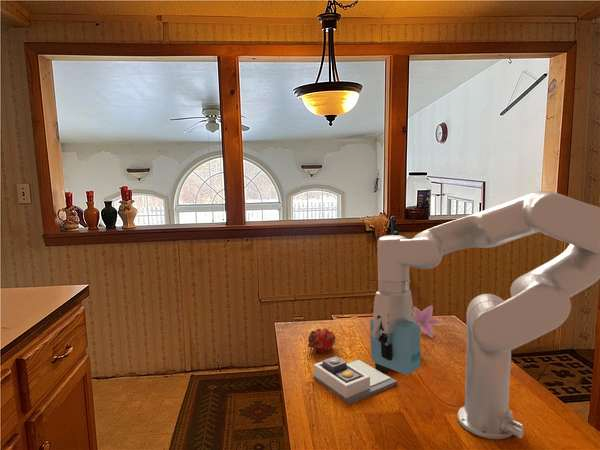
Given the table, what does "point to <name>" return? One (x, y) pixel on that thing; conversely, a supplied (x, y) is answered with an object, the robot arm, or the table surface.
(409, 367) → the data package
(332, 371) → the grey square block
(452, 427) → the table surface
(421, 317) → the lily
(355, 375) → the tagged breaker
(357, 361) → the board
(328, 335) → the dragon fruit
